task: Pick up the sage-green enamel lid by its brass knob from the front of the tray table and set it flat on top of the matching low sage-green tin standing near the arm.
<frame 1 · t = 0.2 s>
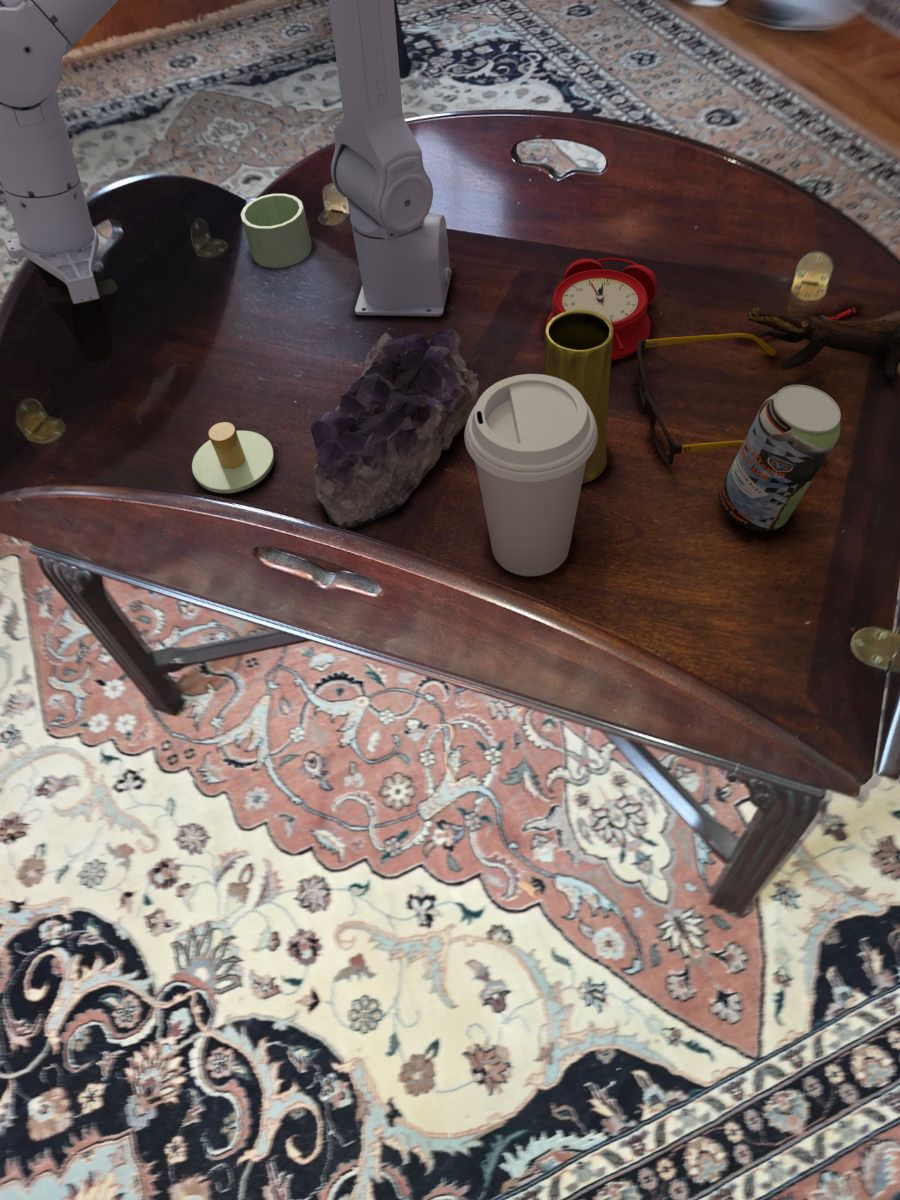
hand: (87, 335, 78), 10 cm above the table, tool pointing down, fingers open, 7 cm apart
lid: (234, 462, 81), point 1 cm above the table
alarm clock: (601, 322, 90), on the table
coffee cup: (530, 547, 74), on the table
toy: (846, 367, 84), on the table, touching eyeglasses
beverage can: (760, 513, 74), on the table
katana: (802, 343, 86), on the table
eyeglasses: (719, 416, 81), on the table, touching toy
tin: (282, 250, 102), on the table
vase: (572, 462, 79), on the table
geode: (398, 455, 81), on the table
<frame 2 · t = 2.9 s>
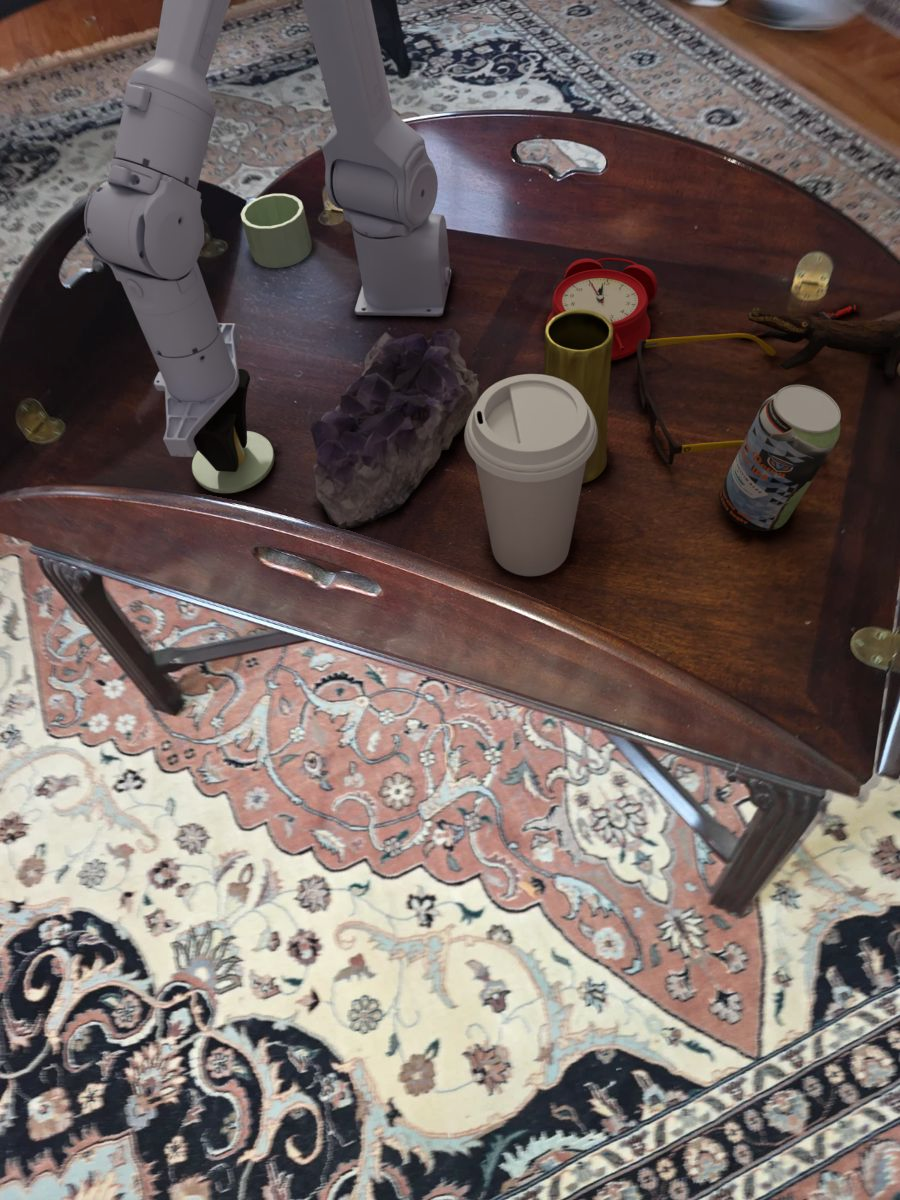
hand: (231, 456, 80), 1 cm above the table, tool pointing down, fingers closed on lid, 2 cm apart
lid: (234, 463, 81), point 1 cm above the table, touching gripper
everything else where it was.
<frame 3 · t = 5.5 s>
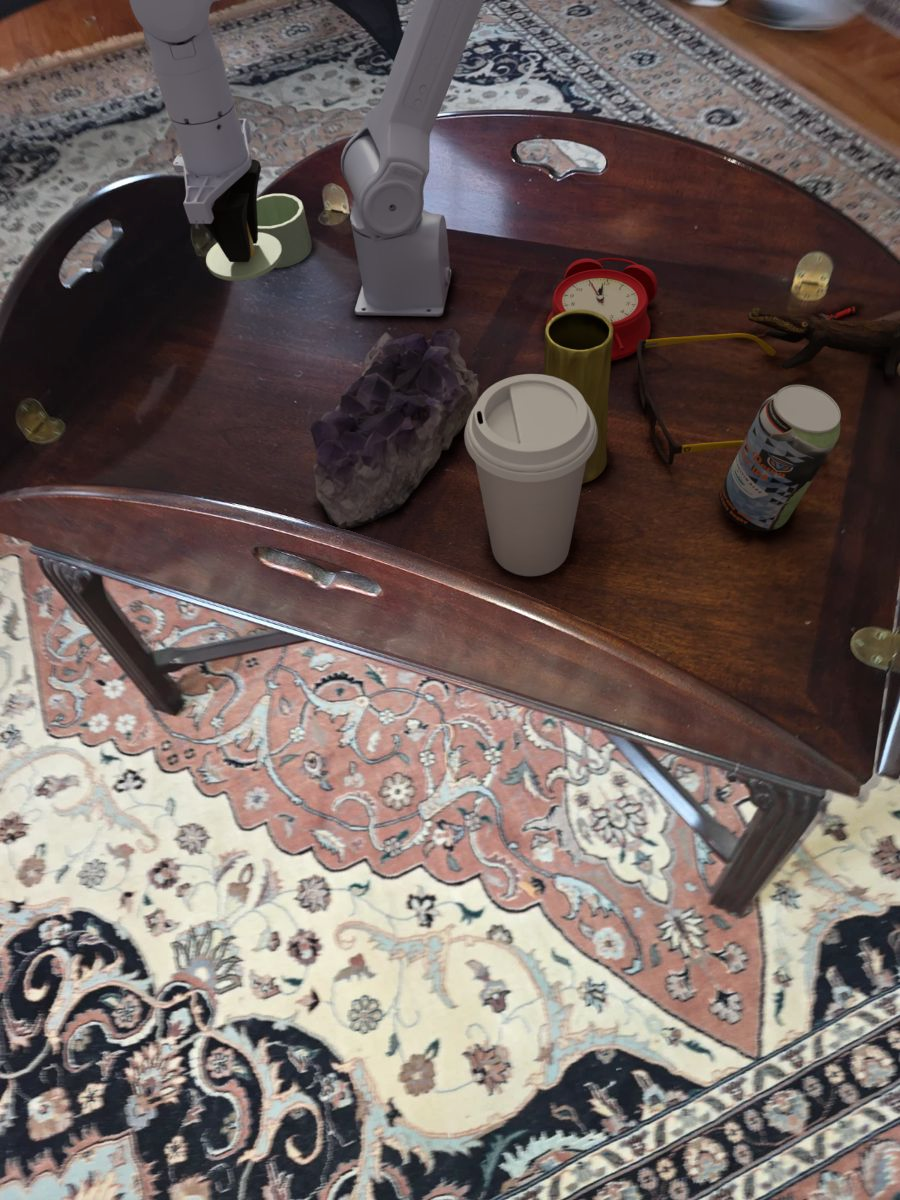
hand: (243, 250, 86), 9 cm above the table, tool pointing down, fingers closed on lid, 2 cm apart
lid: (245, 258, 87), point 8 cm above the table, touching gripper
everything else where it was.
when the fingers open (6 cm above the table, at t = 7.8 s): lid stays where it is, resting on tin.
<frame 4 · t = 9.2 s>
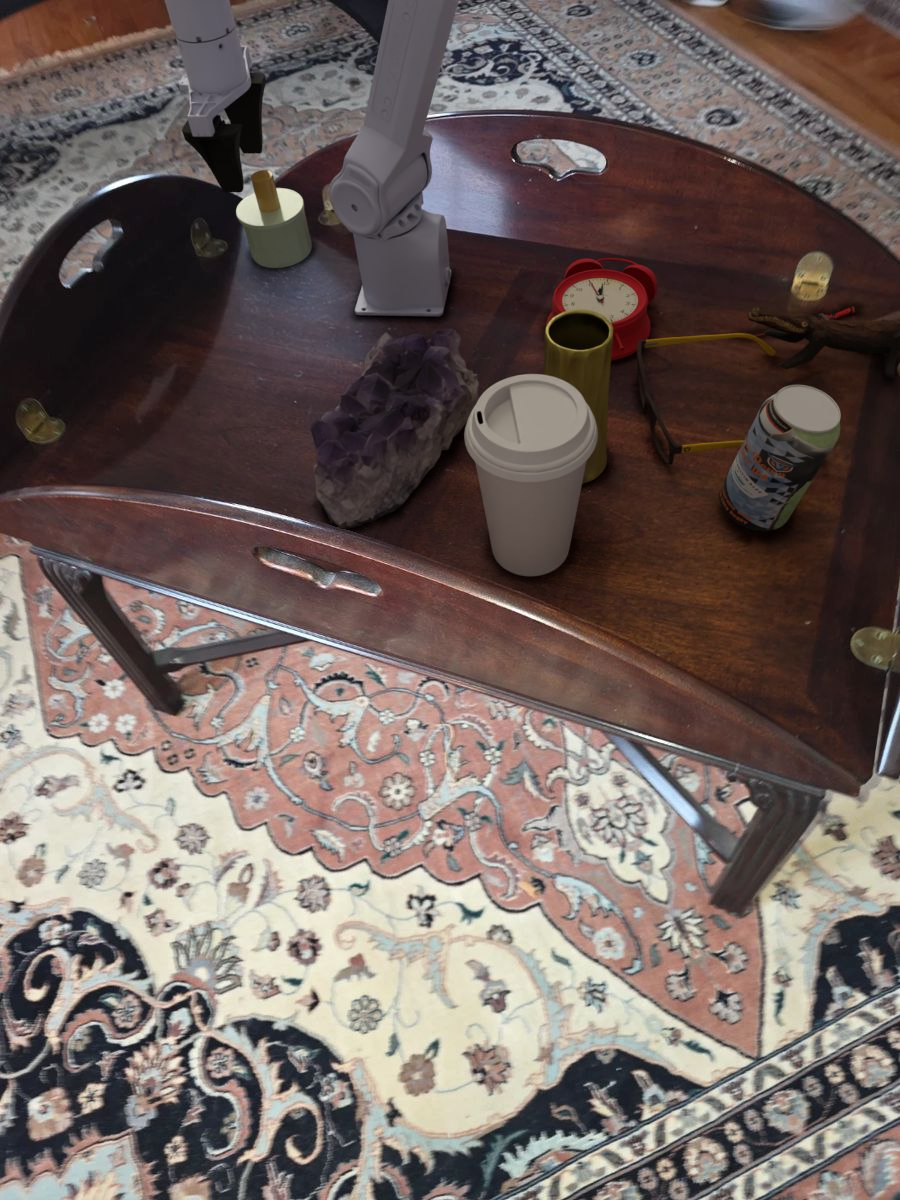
hand: (243, 170, 93), 10 cm above the table, tool pointing down, fingers open, 7 cm apart
lid: (270, 210, 98), point 5 cm above the table, touching tin
everything else where it was.
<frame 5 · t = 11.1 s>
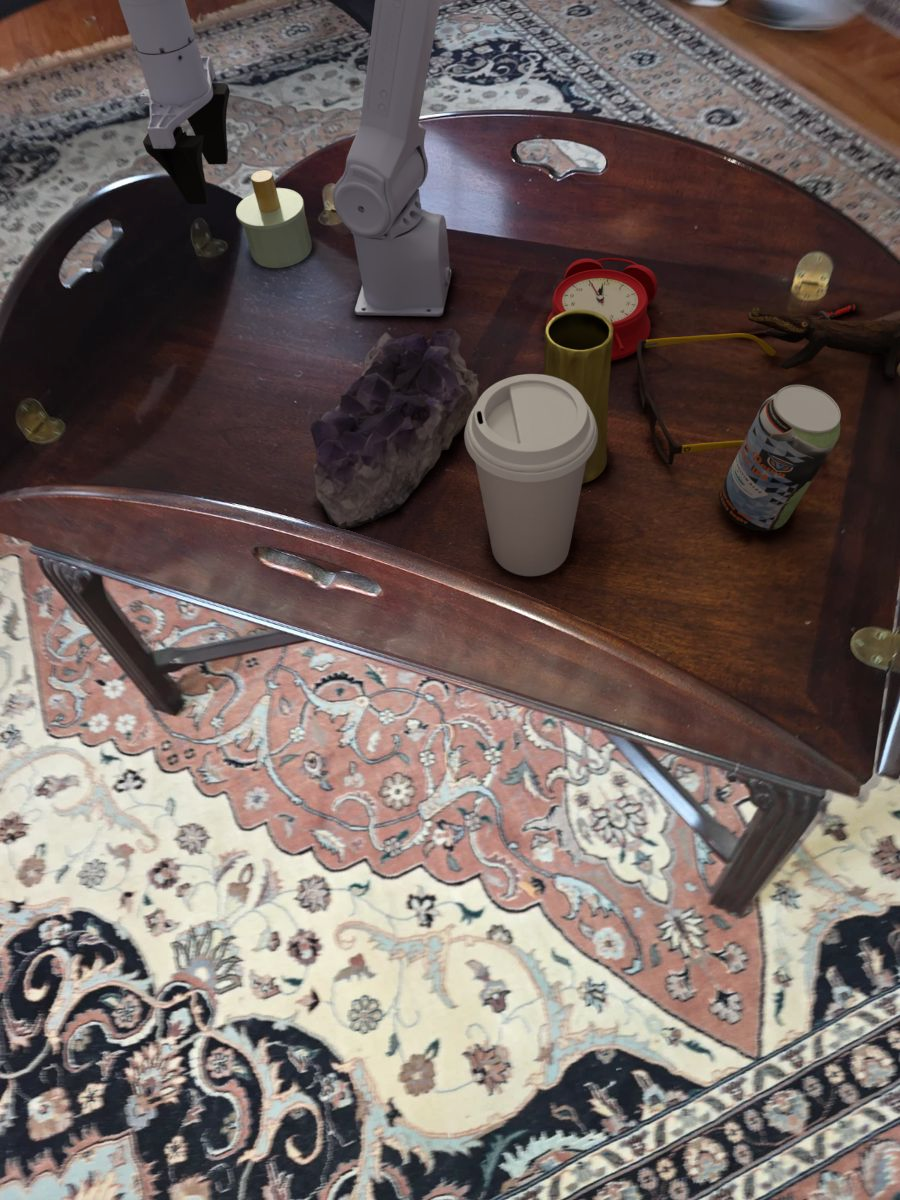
hand: (208, 182, 93), 10 cm above the table, tool pointing down, fingers open, 7 cm apart
nothing on the table moved.
at the end: lid 0.1 cm off-centre on the tin, point 4.9 cm above the tin's base; lid tilted 0° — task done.
